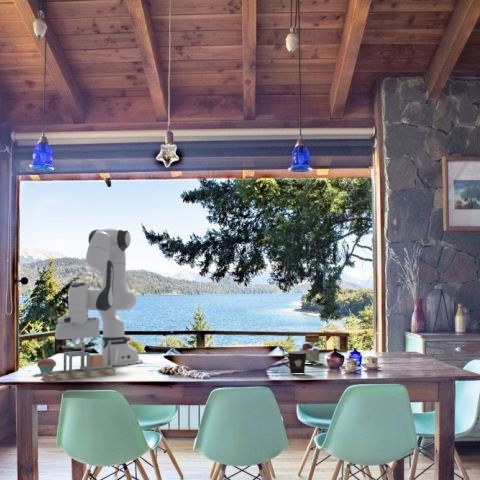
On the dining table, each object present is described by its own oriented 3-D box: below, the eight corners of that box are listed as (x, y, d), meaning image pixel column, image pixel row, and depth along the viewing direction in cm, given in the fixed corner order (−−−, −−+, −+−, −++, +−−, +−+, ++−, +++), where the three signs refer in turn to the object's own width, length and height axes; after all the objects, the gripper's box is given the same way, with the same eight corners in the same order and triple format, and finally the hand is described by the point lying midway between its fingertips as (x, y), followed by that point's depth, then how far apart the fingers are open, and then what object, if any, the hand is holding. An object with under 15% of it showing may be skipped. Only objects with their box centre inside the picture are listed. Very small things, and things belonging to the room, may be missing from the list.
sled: (108, 365, 287) (109, 340, 288) (112, 367, 283) (112, 341, 284) (79, 368, 280) (79, 342, 280) (83, 369, 276) (83, 343, 276)
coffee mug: (309, 372, 285) (308, 351, 285) (303, 375, 277) (302, 353, 277) (286, 371, 289) (285, 350, 290) (279, 374, 282) (279, 352, 282)
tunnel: (82, 369, 283) (82, 350, 283) (89, 371, 275) (89, 353, 275) (63, 370, 278) (63, 352, 278) (69, 373, 270) (69, 354, 270)
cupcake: (38, 375, 280) (39, 349, 281) (35, 372, 287) (36, 347, 288) (57, 374, 284) (57, 348, 284) (54, 371, 291) (54, 346, 292)
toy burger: (302, 361, 321) (302, 333, 322) (325, 362, 316) (325, 334, 317) (296, 364, 310) (296, 335, 311) (320, 366, 305) (320, 336, 306)
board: (107, 371, 290) (107, 365, 290) (115, 374, 281) (115, 368, 281) (42, 378, 273) (42, 371, 273) (48, 381, 264) (48, 374, 265)
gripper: (97, 316, 286) (97, 345, 285) (54, 318, 275) (53, 348, 274) (101, 317, 281) (101, 347, 280) (58, 319, 270) (57, 350, 269)
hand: (77, 348), depth 277 cm, fingers closed
